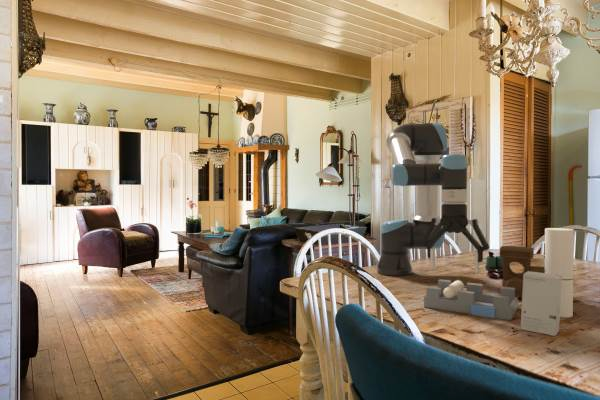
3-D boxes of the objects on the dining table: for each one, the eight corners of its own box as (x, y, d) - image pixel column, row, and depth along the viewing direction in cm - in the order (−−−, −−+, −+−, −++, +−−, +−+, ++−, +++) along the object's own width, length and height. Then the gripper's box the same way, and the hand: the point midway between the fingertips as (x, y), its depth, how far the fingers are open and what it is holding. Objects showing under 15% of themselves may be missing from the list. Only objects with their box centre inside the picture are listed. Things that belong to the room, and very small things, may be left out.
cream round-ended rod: (441, 298, 127) (441, 287, 127) (454, 289, 139) (454, 278, 139) (453, 300, 126) (453, 289, 125) (465, 290, 137) (465, 280, 137)
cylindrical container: (568, 311, 125) (569, 228, 124) (576, 318, 118) (576, 230, 117) (541, 309, 127) (542, 227, 126) (547, 316, 120) (548, 230, 120)
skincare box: (520, 330, 109) (520, 273, 109) (525, 324, 114) (526, 270, 113) (557, 337, 104) (558, 277, 103) (561, 330, 108) (562, 273, 108)
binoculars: (492, 256, 166) (483, 250, 176) (491, 281, 168) (482, 274, 178) (515, 256, 166) (505, 250, 175) (514, 282, 167) (504, 274, 177)
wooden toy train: (498, 297, 142) (498, 248, 141) (502, 290, 151) (502, 244, 151) (568, 305, 131) (569, 253, 130) (568, 297, 141) (568, 248, 140)
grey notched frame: (423, 307, 130) (423, 287, 130) (437, 296, 143) (437, 279, 142) (510, 320, 116) (510, 299, 116) (517, 307, 129) (517, 288, 129)
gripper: (411, 203, 136) (411, 268, 136) (494, 203, 121) (494, 276, 122) (419, 202, 142) (419, 264, 142) (499, 203, 128) (499, 272, 128)
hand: (454, 270), depth 132 cm, fingers open, 13 cm apart
